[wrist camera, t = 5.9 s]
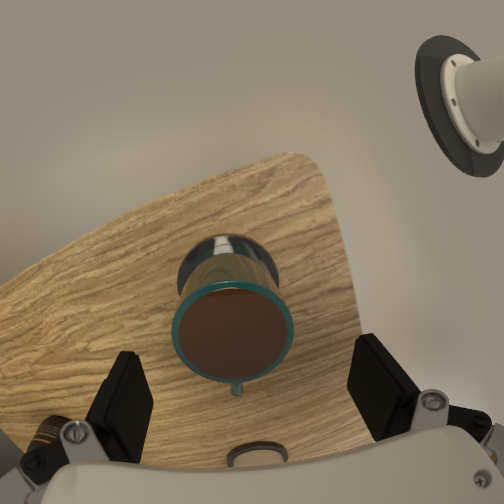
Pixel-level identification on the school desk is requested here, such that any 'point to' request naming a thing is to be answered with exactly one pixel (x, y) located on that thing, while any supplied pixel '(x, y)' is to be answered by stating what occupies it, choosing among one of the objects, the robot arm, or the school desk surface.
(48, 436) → the jar
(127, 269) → the school desk surface
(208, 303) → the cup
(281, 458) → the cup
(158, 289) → the school desk surface
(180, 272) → the saucer front
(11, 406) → the school desk surface
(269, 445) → the dark grey round coaster
